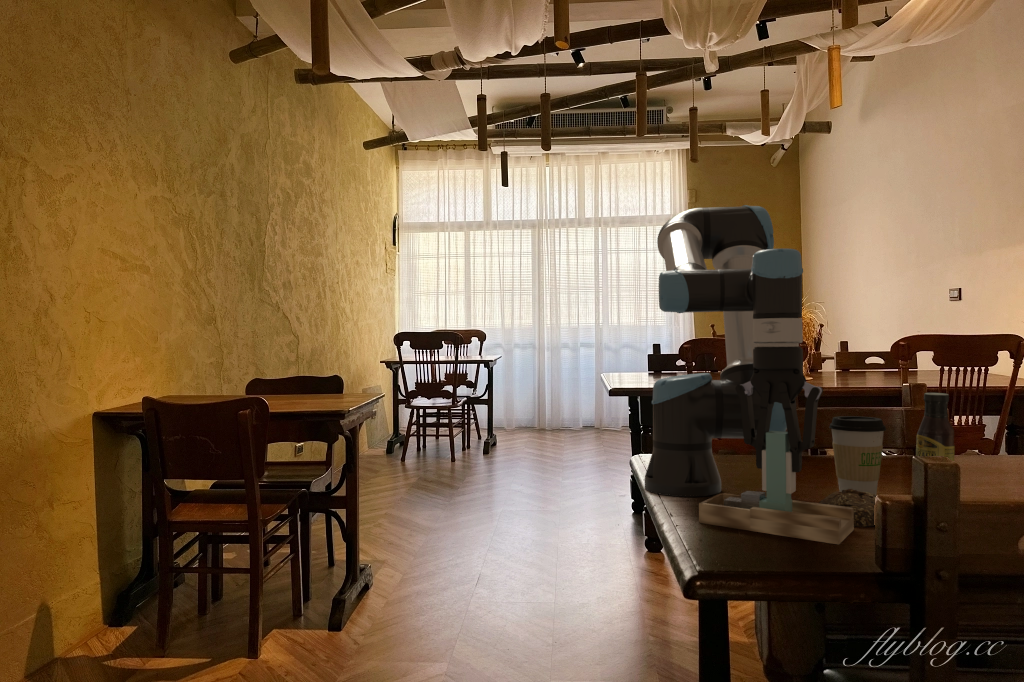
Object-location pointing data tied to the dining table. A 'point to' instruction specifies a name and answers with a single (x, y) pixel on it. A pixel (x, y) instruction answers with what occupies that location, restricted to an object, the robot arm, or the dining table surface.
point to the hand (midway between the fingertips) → (778, 490)
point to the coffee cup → (857, 451)
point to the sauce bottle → (935, 428)
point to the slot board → (782, 519)
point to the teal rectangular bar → (776, 472)
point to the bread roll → (855, 505)
